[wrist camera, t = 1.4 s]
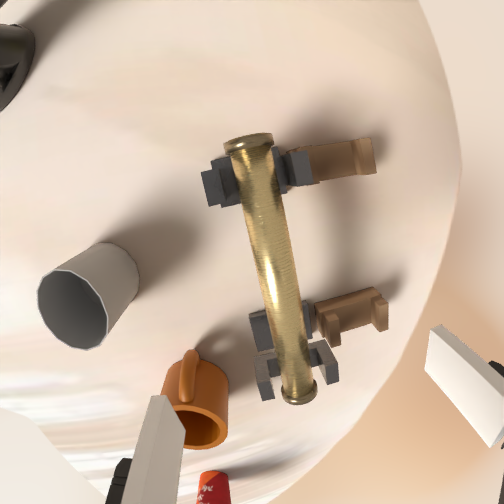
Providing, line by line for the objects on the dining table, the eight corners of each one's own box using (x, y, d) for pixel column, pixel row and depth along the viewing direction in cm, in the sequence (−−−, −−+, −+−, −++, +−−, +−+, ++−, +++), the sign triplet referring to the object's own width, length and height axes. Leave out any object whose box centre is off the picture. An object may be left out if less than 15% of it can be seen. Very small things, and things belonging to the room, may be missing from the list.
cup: (137, 243, 31) (101, 271, 21) (143, 309, 33) (116, 355, 23) (76, 242, 30) (29, 267, 20) (84, 304, 32) (47, 343, 23)
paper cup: (198, 465, 42) (194, 524, 29) (237, 470, 43) (240, 528, 30) (192, 481, 44) (189, 534, 30) (228, 486, 45) (230, 538, 31)
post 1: (209, 162, 29) (196, 154, 18) (277, 147, 29) (302, 132, 18) (220, 207, 30) (213, 224, 20) (287, 192, 30) (317, 201, 20)
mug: (240, 346, 35) (243, 393, 26) (222, 408, 38) (222, 454, 29) (170, 331, 34) (155, 376, 25) (162, 396, 37) (151, 441, 28)
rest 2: (314, 303, 34) (325, 322, 29) (372, 286, 34) (390, 302, 29) (317, 327, 35) (328, 348, 30) (373, 310, 35) (390, 328, 30)
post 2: (247, 314, 34) (254, 373, 23) (307, 300, 34) (337, 351, 23) (255, 347, 35) (265, 409, 24) (312, 333, 35) (339, 390, 24)
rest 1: (286, 152, 29) (296, 147, 25) (353, 141, 29) (372, 137, 25) (293, 184, 30) (304, 186, 25) (359, 172, 30) (379, 172, 26)
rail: (223, 145, 21) (222, 140, 18) (268, 136, 21) (274, 129, 18) (280, 386, 28) (285, 409, 24) (313, 377, 28) (321, 399, 24)
